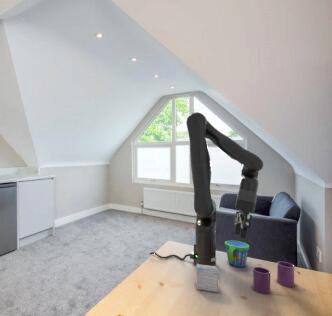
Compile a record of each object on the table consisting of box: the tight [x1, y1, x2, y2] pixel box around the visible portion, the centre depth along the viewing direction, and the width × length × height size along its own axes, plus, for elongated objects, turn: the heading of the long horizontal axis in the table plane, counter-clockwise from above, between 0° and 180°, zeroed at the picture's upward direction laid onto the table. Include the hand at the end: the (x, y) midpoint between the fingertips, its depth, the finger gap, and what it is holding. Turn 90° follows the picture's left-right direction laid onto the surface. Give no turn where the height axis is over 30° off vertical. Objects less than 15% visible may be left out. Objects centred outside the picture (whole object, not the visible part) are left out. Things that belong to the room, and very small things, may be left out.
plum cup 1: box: [252, 266, 271, 295], centre depth 98 cm, size 6×6×8 cm
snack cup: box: [224, 239, 250, 268], centre depth 122 cm, size 16×10×10 cm
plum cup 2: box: [276, 261, 295, 288], centre depth 103 cm, size 6×6×8 cm
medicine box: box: [195, 264, 219, 293], centre depth 100 cm, size 8×4×9 cm, turn 71°
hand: (239, 236), depth 109 cm, fingers open, 8 cm apart
